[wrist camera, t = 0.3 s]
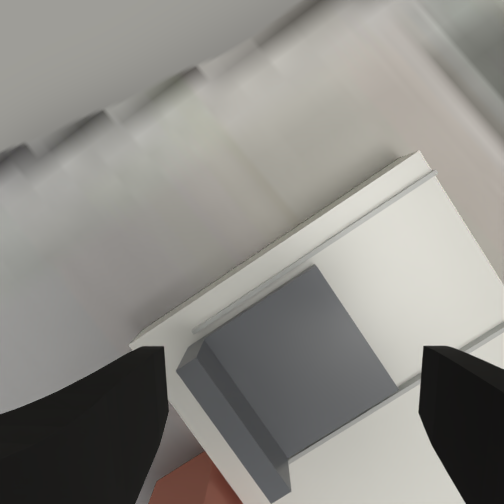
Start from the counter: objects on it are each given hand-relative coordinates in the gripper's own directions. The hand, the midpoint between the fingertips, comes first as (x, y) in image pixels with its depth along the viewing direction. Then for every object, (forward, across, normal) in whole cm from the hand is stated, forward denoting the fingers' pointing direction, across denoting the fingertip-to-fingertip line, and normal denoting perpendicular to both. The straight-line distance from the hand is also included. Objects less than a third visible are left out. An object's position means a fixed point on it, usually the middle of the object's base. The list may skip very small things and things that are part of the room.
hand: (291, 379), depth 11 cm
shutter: (+7, 0, +3) cm, 8 cm away
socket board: (+10, -4, +5) cm, 12 cm away
